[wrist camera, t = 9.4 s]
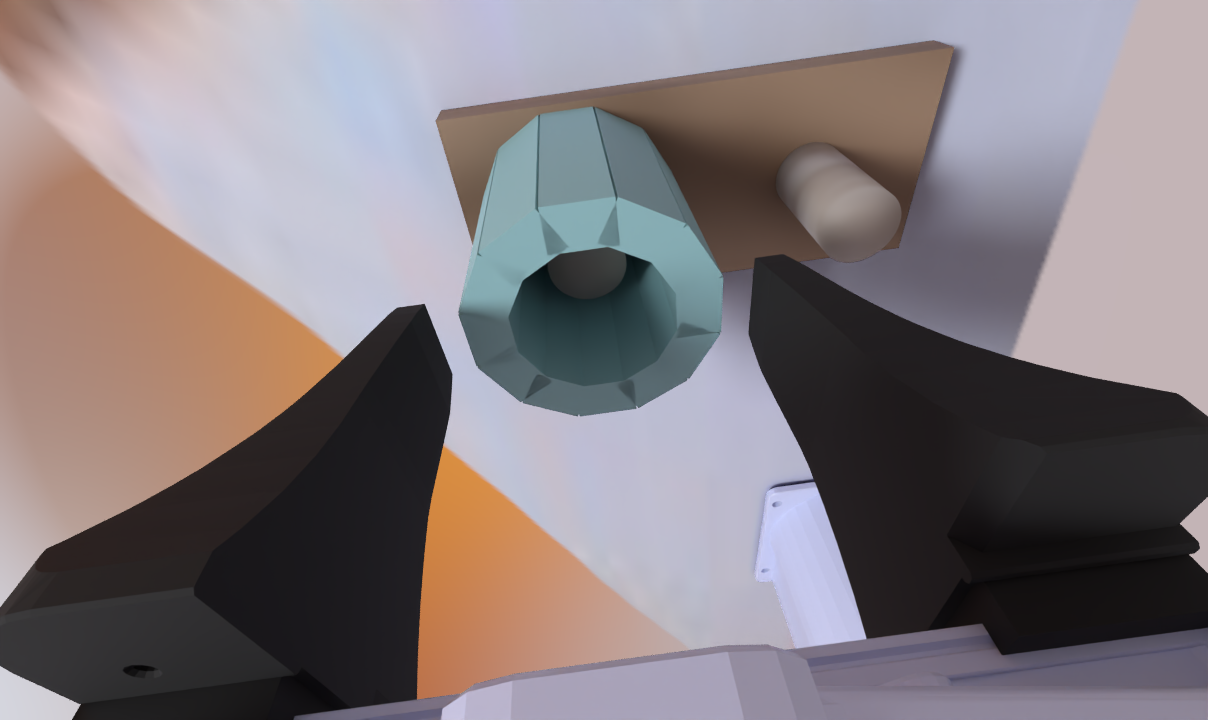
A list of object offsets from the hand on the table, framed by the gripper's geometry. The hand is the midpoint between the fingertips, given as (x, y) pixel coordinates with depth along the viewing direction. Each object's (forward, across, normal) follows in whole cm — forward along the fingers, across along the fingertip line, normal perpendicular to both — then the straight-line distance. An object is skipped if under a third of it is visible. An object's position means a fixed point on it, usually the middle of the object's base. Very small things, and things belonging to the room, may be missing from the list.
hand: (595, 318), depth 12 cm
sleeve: (+6, 0, 0) cm, 6 cm away
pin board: (+7, -4, 0) cm, 8 cm away
